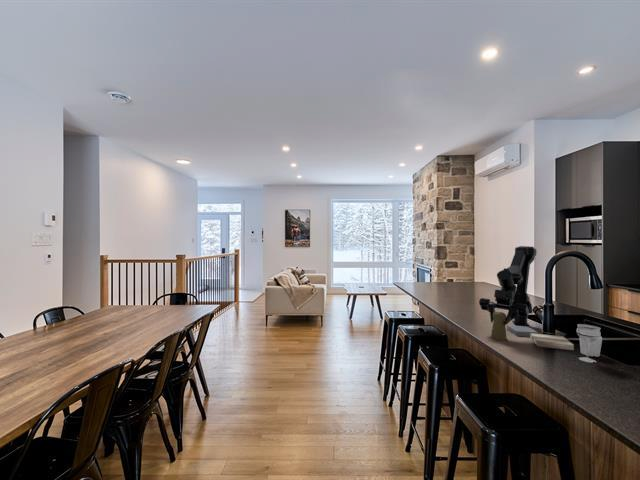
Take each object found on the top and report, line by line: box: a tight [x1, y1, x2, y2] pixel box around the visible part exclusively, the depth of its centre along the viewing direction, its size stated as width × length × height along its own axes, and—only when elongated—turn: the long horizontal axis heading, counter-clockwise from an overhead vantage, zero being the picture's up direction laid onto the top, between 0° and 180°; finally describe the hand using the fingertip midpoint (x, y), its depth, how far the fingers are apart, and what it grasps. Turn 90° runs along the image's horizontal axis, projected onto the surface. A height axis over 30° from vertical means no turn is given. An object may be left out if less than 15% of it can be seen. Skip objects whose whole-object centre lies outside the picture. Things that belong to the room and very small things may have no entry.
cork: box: [490, 311, 507, 341], centre depth 144 cm, size 6×6×11 cm
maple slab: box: [529, 333, 575, 351], centre depth 138 cm, size 12×12×2 cm
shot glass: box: [579, 335, 603, 358], centre depth 127 cm, size 7×7×7 cm
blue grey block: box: [506, 325, 539, 337], centre depth 152 cm, size 9×9×2 cm
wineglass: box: [576, 323, 602, 364], centre depth 120 cm, size 7×7×12 cm
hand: (498, 323), depth 143 cm, fingers closed on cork, 5 cm apart
